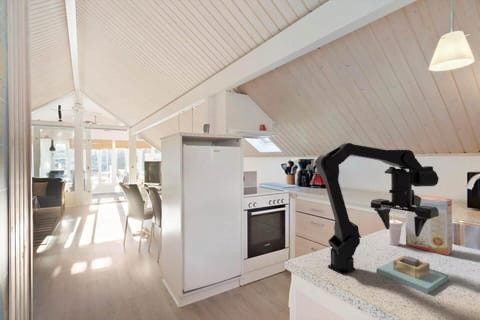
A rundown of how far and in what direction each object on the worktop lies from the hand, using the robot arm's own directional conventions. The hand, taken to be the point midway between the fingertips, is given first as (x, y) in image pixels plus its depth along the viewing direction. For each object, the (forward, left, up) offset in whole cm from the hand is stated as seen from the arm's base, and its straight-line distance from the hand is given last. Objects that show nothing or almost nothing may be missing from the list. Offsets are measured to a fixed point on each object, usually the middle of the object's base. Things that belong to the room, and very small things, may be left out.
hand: (401, 232), depth 80 cm
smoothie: (-13, +20, -12) cm, 27 cm away
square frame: (+4, -4, -10) cm, 12 cm away
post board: (+4, -4, -12) cm, 13 cm away
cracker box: (-3, +26, -12) cm, 29 cm away
